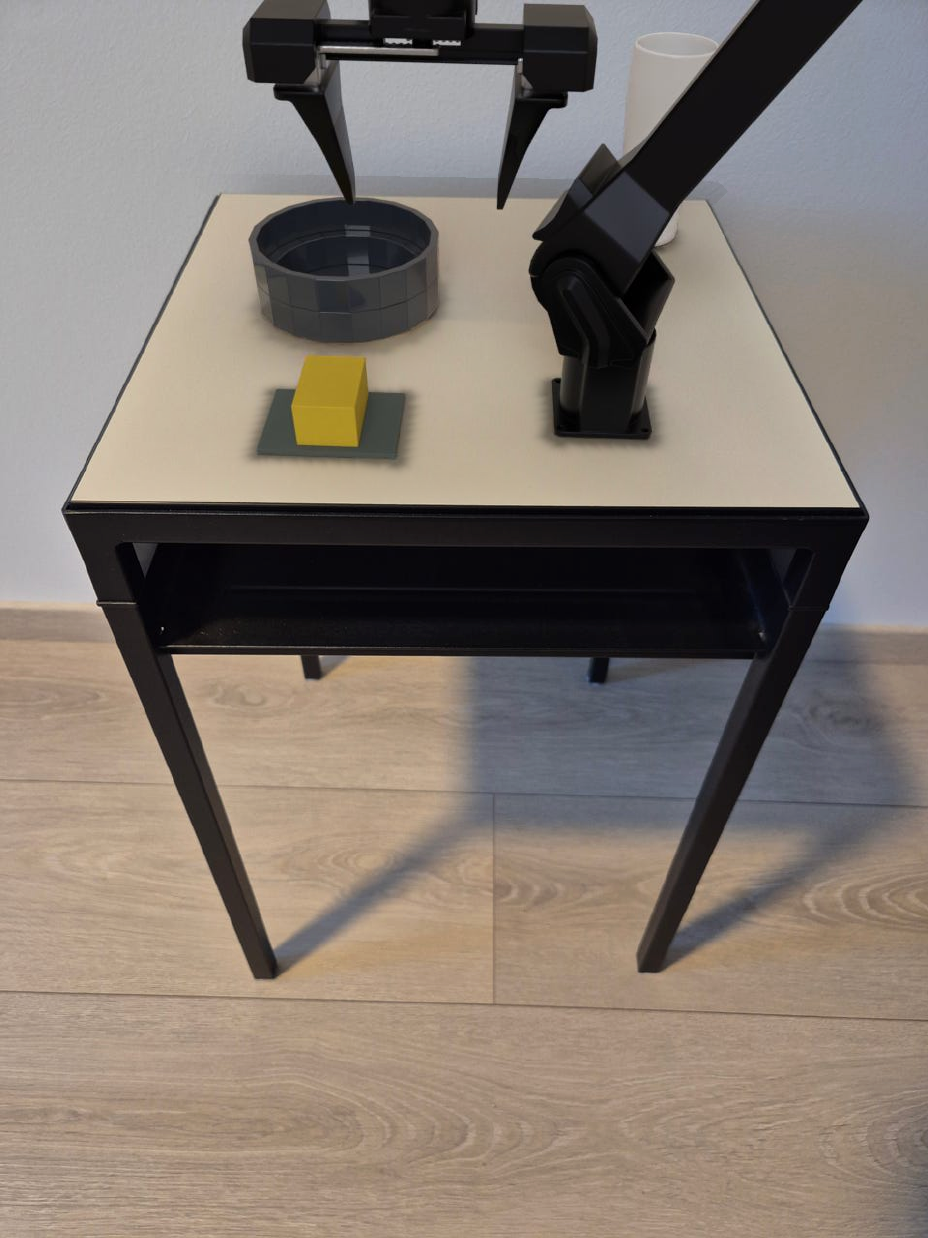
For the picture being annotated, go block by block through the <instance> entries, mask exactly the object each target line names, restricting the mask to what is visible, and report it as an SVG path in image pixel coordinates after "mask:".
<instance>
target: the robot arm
mask: <svg viewBox="0 0 928 1238" xmlns="http://www.w3.org/2000/svg"><path fill="white" fill-rule="evenodd" d="M863 1H864V0H755V1H754V2H753V3H752V5H751V6H750V7H749V8H748V9H747V10H746V12H745V13H744V14H743V16H742V17H741V18H740V20H738V22H737V23H736V24H735V26H734V27H733V28H732V29H731V31H729V33H728V34H727V36H726V37H725V38H724V40H723V41H722V42H721V43H720V44H719V47H718V48H717V50H716V51H715V52H714V53H713V55H712V56H711V57H710V58H709V60H708V61H707V62H706V63H705V65H704V66H703V67H702V68H701V70H700V71H699V72H698V73H697V75H696V76H695V77H694V78H693V80H692V81H691V82H690V83H689V85H688V86H687V87H686V88H685V90H684V91H683V92H682V93H681V95H680V96H679V97H678V98H677V100H676V101H675V102H674V103H673V105H672V106H671V107H670V108H669V110H668V111H667V112H666V113H665V115H664V116H663V117H662V118H661V120H660V121H659V122H658V123H657V125H656V126H655V127H654V128H653V130H652V131H651V132H650V133H649V135H648V136H647V137H646V138H645V139H644V140H643V141H642V142H641V143H640V144H638V145H637V146H636V147H635V148H633V149H632V150H631V151H629V152H628V153H627V154H626V155H624V156H623V157H622V156H621V157H620V158H619V159H618V160H617V158H616V157H615V155H614V154H613V153H612V152H611V150H610V149H609V147H608V146H607V145H606V144H605V143H604V142H603V143H600V145H599V147H597V149H596V150H595V151H594V153H593V154H592V156H591V157H590V158H589V160H588V161H587V162H586V164H585V165H584V166H583V168H582V169H581V170H580V172H579V173H578V174H577V176H576V177H575V179H574V181H573V182H572V183H571V185H570V187H569V188H568V189H566V190H564V191H563V193H562V194H561V195H560V197H558V199H557V200H556V202H555V203H554V205H553V206H552V207H551V208H550V210H549V211H548V213H547V214H546V215H545V217H544V218H543V219H542V220H541V222H540V223H539V225H538V226H537V227H536V229H535V230H534V231H533V233H532V235H531V238H532V240H534V241H539V242H540V243H539V245H538V246H537V247H536V249H535V251H534V253H533V254H532V257H531V259H530V261H529V266H528V270H527V272H528V275H529V279H530V285H531V286H530V287H531V289H532V292H533V294H534V296H535V298H536V300H537V302H538V303H539V305H540V306H542V308H543V309H544V310H545V311H546V312H547V315H548V316H547V317H548V320H549V323H550V326H551V330H552V335H553V338H554V342H555V346H556V348H557V349H556V350H557V352H558V354H559V355H561V356H563V358H562V359H563V360H562V368H561V377H554V378H552V379H551V383H550V394H551V395H550V396H551V414H552V415H551V416H552V432H553V435H554V436H556V437H559V438H575V439H576V438H580V439H605V440H607V439H608V440H633V441H634V440H637V441H638V440H639V441H647V440H650V439H651V437H652V433H653V429H652V423H651V418H650V412H649V406H648V400H647V396H646V391H647V388H648V387H647V386H648V382H649V376H650V371H651V367H652V366H651V365H652V360H653V356H654V351H655V345H656V340H657V328H656V326H657V323H658V321H659V320H660V317H661V315H662V312H663V311H664V308H665V305H666V303H667V301H668V299H669V296H670V294H671V292H672V290H673V288H674V286H675V283H676V277H674V275H673V273H672V272H671V271H670V269H669V268H668V267H667V265H666V263H665V262H664V260H663V259H662V258H661V257H660V256H659V254H658V253H657V251H656V250H655V247H656V246H655V244H656V243H657V241H658V240H659V238H660V236H661V235H662V233H663V231H664V230H665V228H666V226H667V225H668V223H669V221H670V220H671V218H672V217H673V215H674V213H675V212H676V210H677V209H678V207H679V205H680V204H681V203H682V202H683V203H684V201H685V200H686V199H687V197H688V196H689V195H690V194H691V193H692V192H693V191H694V190H695V188H696V187H697V186H698V185H699V184H700V183H701V182H702V181H703V180H704V178H705V177H707V175H708V174H709V173H710V172H711V171H712V170H713V168H714V167H715V166H716V165H717V164H718V163H719V162H720V161H721V160H722V158H724V156H725V155H726V154H727V153H728V152H729V151H730V149H732V148H733V146H734V145H735V144H736V143H737V141H739V139H741V137H742V136H743V135H744V134H745V133H746V132H747V130H748V129H749V128H750V127H751V126H752V125H753V124H754V123H755V122H756V121H757V120H758V119H759V117H760V116H761V115H762V114H763V113H764V112H765V111H766V109H767V108H768V107H769V106H770V105H771V104H772V103H773V102H774V100H775V99H776V98H778V96H779V95H780V93H782V92H783V90H784V89H785V88H786V87H787V86H788V85H789V84H790V82H792V80H793V79H794V78H795V77H796V76H797V75H798V74H799V73H800V71H801V70H803V68H804V67H805V66H806V65H807V64H808V62H810V60H811V59H812V58H813V57H814V56H815V55H816V54H817V53H818V52H819V50H820V49H821V48H822V47H823V46H824V45H825V43H826V42H827V41H828V40H829V39H830V38H831V37H832V36H833V35H834V34H835V32H836V31H837V30H838V29H839V28H840V27H841V26H842V25H843V23H844V22H845V21H846V20H847V19H848V18H849V17H850V16H851V15H852V14H853V12H854V11H855V10H856V9H858V6H860V4H861V3H862V2H863ZM367 7H368V19H346V18H345V19H344V18H343V19H342V18H332V14H331V10H330V6H329V2H328V0H263V1H261V3H260V4H259V6H258V7H257V9H256V10H255V11H254V12H253V13H252V15H251V16H250V17H249V18H248V20H247V22H246V23H245V25H244V26H243V28H242V35H241V36H242V37H241V48H242V53H243V61H244V66H245V73H246V79H247V81H250V82H252V83H254V84H274V85H273V87H272V92H273V97H274V99H275V100H277V101H281V102H289V103H290V104H292V106H293V107H294V109H295V111H296V112H297V114H298V116H299V117H300V118H301V120H302V122H303V123H304V124H305V126H306V128H307V129H308V131H309V132H310V134H311V136H312V137H313V139H314V141H315V142H316V144H317V146H318V147H319V149H320V151H321V154H322V156H323V157H324V159H325V161H326V164H327V165H328V167H329V169H330V172H331V173H332V175H333V177H334V180H335V182H336V184H337V186H338V189H339V190H340V192H341V195H342V197H344V198H345V200H346V203H347V204H348V205H354V203H355V200H356V197H357V194H356V193H357V192H356V175H355V174H356V173H355V167H354V161H353V156H352V150H351V144H350V137H349V131H348V126H347V121H346V114H345V109H344V102H343V94H342V80H341V79H342V78H341V62H340V61H343V62H345V61H346V62H376V63H377V62H378V63H379V62H380V63H381V62H382V63H412V64H413V63H415V64H416V63H417V64H447V65H448V64H449V65H452V64H453V65H483V66H485V65H487V66H489V65H490V66H514V68H513V77H512V84H511V85H512V86H511V91H510V98H509V105H508V110H507V111H508V112H507V117H506V123H505V130H504V136H503V143H502V148H501V155H500V161H499V166H498V173H497V185H496V186H497V187H496V210H497V211H502V210H504V208H505V206H506V203H507V200H508V198H509V195H510V193H511V190H512V187H513V185H514V183H515V180H516V177H517V174H518V173H519V170H520V167H521V165H522V162H523V160H524V158H525V156H526V153H527V151H528V149H529V147H530V145H531V143H532V141H533V139H534V138H535V136H536V134H537V132H538V131H539V129H540V127H541V125H542V124H543V121H544V120H545V118H546V116H547V114H548V112H549V111H551V110H553V109H555V110H557V109H558V110H559V109H564V108H566V107H567V106H568V105H569V93H586V92H589V91H593V90H594V87H595V77H596V68H597V59H598V44H599V37H598V33H597V29H596V24H595V19H594V17H593V16H592V14H591V13H590V11H589V10H588V8H587V7H586V5H585V4H564V3H563V4H562V3H527V2H526V3H525V2H524V3H523V6H522V7H523V9H522V21H521V22H522V23H489V22H476V16H478V10H479V0H367ZM386 39H391V40H392V39H395V40H397V39H399V40H405V41H406V42H407V43H404V42H398V43H397V42H391V43H390V42H388V41H386ZM410 41H411V43H410ZM438 42H442V43H445V42H448V43H453V42H455V43H457V44H439V43H438ZM458 43H460V44H459V45H458Z"/></svg>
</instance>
